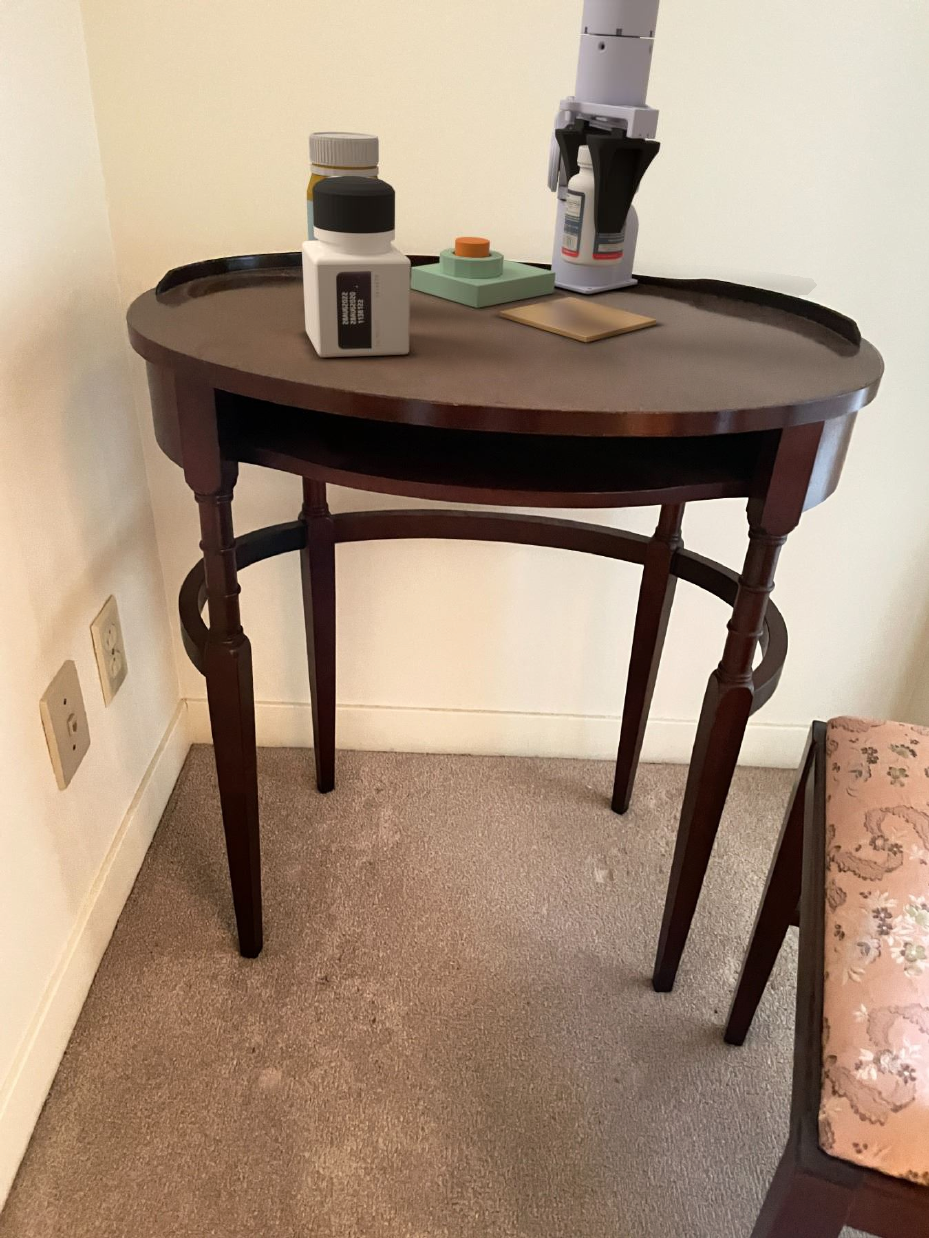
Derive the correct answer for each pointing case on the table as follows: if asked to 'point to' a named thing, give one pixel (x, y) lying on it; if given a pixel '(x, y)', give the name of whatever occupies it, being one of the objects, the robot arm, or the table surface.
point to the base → (481, 279)
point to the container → (355, 271)
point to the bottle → (339, 161)
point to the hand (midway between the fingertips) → (594, 226)
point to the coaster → (577, 319)
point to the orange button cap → (472, 247)
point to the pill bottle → (587, 223)
